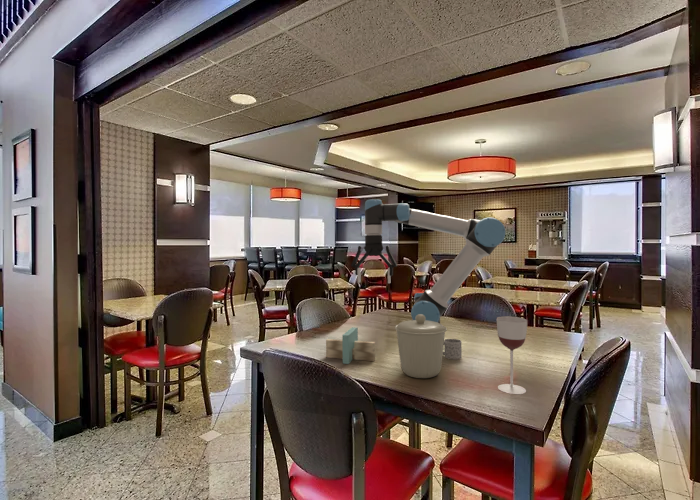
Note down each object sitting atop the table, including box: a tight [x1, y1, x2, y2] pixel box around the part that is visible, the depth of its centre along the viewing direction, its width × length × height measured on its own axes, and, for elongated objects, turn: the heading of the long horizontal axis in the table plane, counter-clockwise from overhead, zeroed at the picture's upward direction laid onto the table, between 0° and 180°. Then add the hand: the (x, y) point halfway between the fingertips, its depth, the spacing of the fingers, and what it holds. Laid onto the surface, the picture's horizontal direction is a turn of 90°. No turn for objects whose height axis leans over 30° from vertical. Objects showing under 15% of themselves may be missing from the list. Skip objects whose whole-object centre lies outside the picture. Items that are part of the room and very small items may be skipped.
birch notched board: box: [325, 338, 376, 362], centre depth 153 cm, size 20×2×7 cm, turn 74°
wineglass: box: [496, 315, 528, 395], centre depth 120 cm, size 9×10×22 cm
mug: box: [442, 338, 463, 360], centre depth 154 cm, size 10×7×7 cm
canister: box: [394, 314, 448, 379], centre depth 134 cm, size 18×18×21 cm
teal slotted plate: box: [341, 326, 359, 365], centre depth 153 cm, size 2×14×11 cm, turn 164°
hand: (374, 283), depth 168 cm, fingers open, 13 cm apart
